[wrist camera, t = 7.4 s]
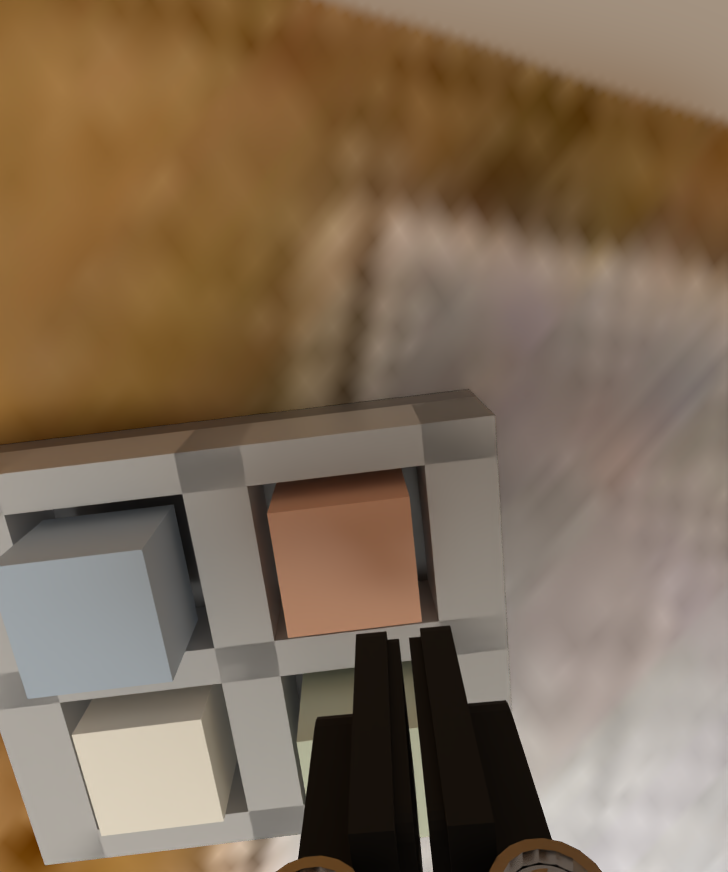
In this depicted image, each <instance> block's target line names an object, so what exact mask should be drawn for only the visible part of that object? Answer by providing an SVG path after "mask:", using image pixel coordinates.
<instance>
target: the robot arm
mask: <svg viewBox="0 0 728 872" xmlns="http://www.w3.org/2000/svg"><path fill="white" fill-rule="evenodd" d="M420 636H421V637H411V638H409V644H410V654H411V664H412V673H413V683H414V693H415V702H416V712H417V721H418V731H419V741H420V750H421V760H422V770H423V779H424V789H425V798H426V808H427V818H428V827H429V836H430V846H431V855H432V864H433V872H602V871H601V870H600V869H599V867H598V866H597V865H596V863H594V862H593V861H592V860H591V859H590V858H588V857H587V856H586V855H585V854H583V853H582V852H581V851H580V850H578V849H576V848H574V847H572V846H569V845H567V844H565V843H563V842H560V841H555V840H552V838H551V835H550V832H549V829H548V826H547V823H546V820H545V816H544V813H543V810H542V807H541V804H540V801H539V798H538V794H537V791H536V788H535V785H534V782H533V779H532V776H531V772H530V769H529V766H528V763H527V760H526V757H525V754H524V751H523V747H522V744H521V741H520V738H519V735H518V732H517V729H516V725H515V722H514V719H513V716H512V713H511V710H510V707H509V705H508V702H507V701H506V700H501V701H490V702H479V703H468V702H467V697H466V693H465V688H464V684H463V680H462V675H461V671H460V666H459V662H458V657H457V653H456V648H455V644H454V640H453V635H452V631H451V627H450V625H448V626H437V627H426V628H420ZM276 872H423V868H422V857H421V845H420V834H419V822H418V810H417V799H416V787H415V777H414V767H413V758H412V749H411V740H410V731H409V722H408V713H407V704H406V695H405V686H404V678H403V669H402V660H401V651H400V642H399V639H389V640H388V639H387V632H386V631H384V632H373V633H362V634H356V644H355V668H354V693H353V714H344V715H332V716H321V717H317V719H316V721H315V727H314V735H313V743H312V751H311V759H310V767H309V775H308V783H307V791H306V800H305V808H304V816H303V824H302V832H301V840H300V848H299V856H298V860H296V861H293V862H290V863H288V864H286V865H285V866H283V867H282V868H281V869H279V870H278V871H276Z"/></svg>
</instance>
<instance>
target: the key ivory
mask: <svg viewBox="0 0 728 872" xmlns="http://www.w3.org/2000/svg"><path fill="white" fill-rule="evenodd" d="M72 738H73V741H74V745H75V748H76V752H77V755H78V758H79V762H80V765H81V768H82V772H83V775H84V779H85V782H86V785H87V789H88V792H89V796H90V799H91V802H92V806H93V809H94V812H95V816H96V819H97V823H98V826H99V829H100V833H101V836H107V835H116V834H124V833H132V832H140V831H149V830H157V829H165V828H174V827H182V826H190V825H198V824H207V823H215V822H223V821H224V818H225V813H226V809H227V804H228V799H229V795H230V790H231V785H232V781H233V776H234V771H235V766H236V762H237V754H236V749H235V745H234V740H233V735H232V730H231V725H230V721H229V716H228V711H227V706H226V701H225V697H224V692H223V687H222V683H220V684H212V685H204V686H195V687H187V688H179V689H170V690H162V691H153V692H145V693H137V694H128V695H120V696H112V697H103V698H95V699H92V700H91V702H90V704H89V706H88V707H87V709H86V711H85V713H84V714H83V716H82V718H81V720H80V721H79V723H78V725H77V726H76V728H75V730H74V732H73V733H72Z"/></svg>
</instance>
